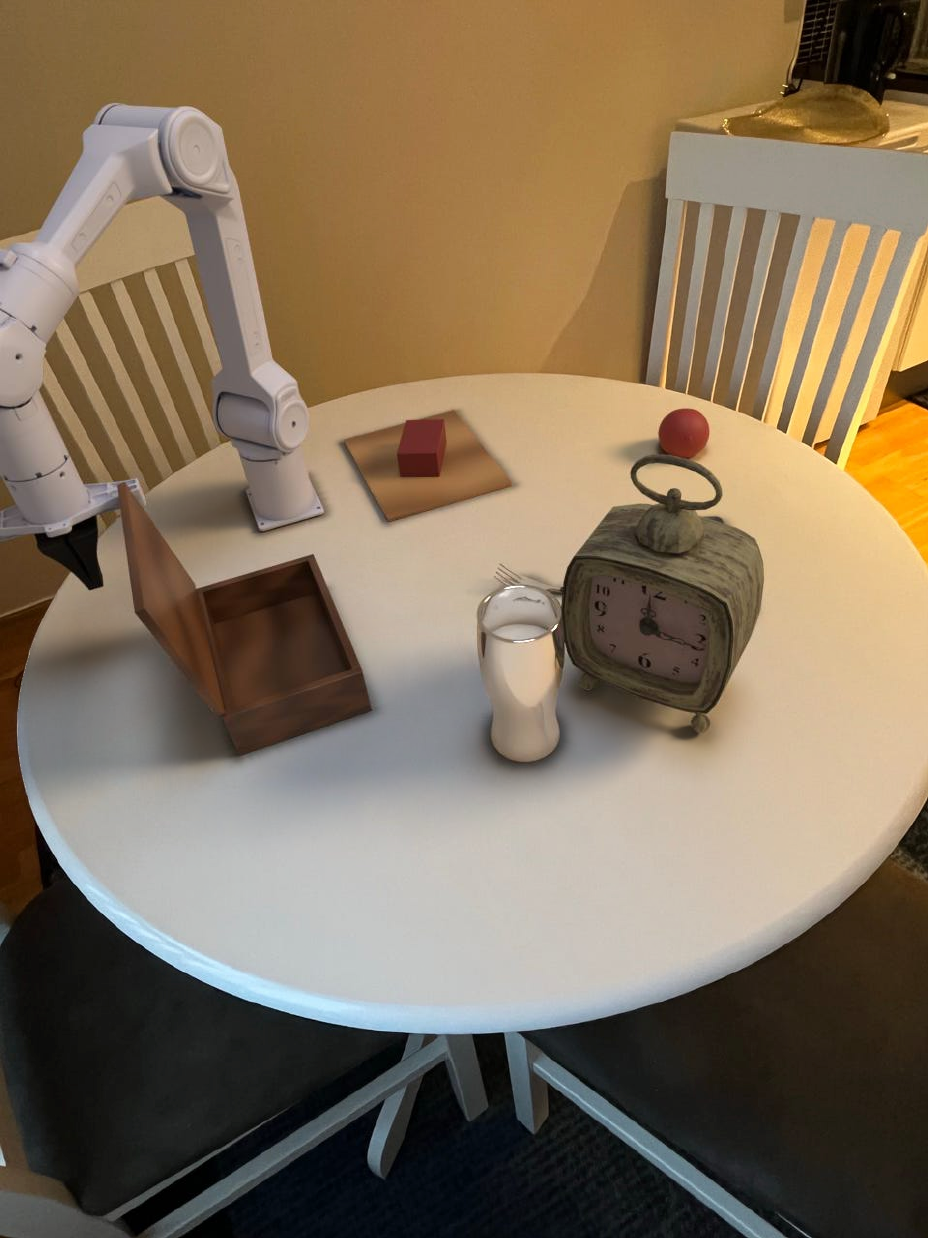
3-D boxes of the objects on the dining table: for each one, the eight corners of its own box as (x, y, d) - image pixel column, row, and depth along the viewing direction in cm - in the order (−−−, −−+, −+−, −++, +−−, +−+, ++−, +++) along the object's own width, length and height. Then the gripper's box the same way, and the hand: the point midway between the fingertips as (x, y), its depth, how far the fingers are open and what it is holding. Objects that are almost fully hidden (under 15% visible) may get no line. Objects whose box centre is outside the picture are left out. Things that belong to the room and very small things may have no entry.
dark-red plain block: (400, 477, 105) (396, 453, 102) (409, 442, 110) (406, 419, 108) (439, 476, 104) (436, 452, 101) (446, 442, 110) (444, 418, 107)
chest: (323, 591, 90) (313, 553, 87) (372, 710, 78) (362, 671, 74) (208, 626, 88) (193, 589, 84) (238, 756, 75) (222, 718, 71)
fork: (646, 613, 84) (647, 598, 83) (494, 591, 88) (493, 577, 87) (649, 596, 86) (651, 582, 84) (500, 575, 90) (499, 561, 89)
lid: (124, 481, 74) (116, 484, 74) (144, 607, 61) (134, 612, 61) (195, 584, 84) (188, 587, 84) (225, 713, 71) (216, 717, 71)
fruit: (656, 470, 105) (662, 439, 98) (656, 429, 107) (662, 396, 99) (706, 470, 105) (716, 439, 97) (705, 429, 106) (715, 395, 99)
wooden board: (344, 442, 113) (343, 439, 112) (454, 412, 116) (454, 409, 116) (388, 522, 99) (387, 518, 98) (511, 485, 102) (511, 482, 102)
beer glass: (541, 779, 70) (537, 656, 60) (471, 747, 73) (456, 625, 63) (578, 722, 74) (580, 598, 64) (510, 695, 77) (502, 572, 67)
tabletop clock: (561, 693, 77) (560, 463, 60) (602, 632, 82) (613, 405, 65) (713, 752, 71) (761, 515, 54) (747, 682, 76) (801, 446, 59)
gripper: (-60, 511, 67) (17, 631, 76) (124, 463, 70) (175, 584, 79) (-53, 467, 72) (18, 586, 81) (118, 424, 75) (167, 543, 84)
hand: (95, 582), depth 80 cm, fingers closed
